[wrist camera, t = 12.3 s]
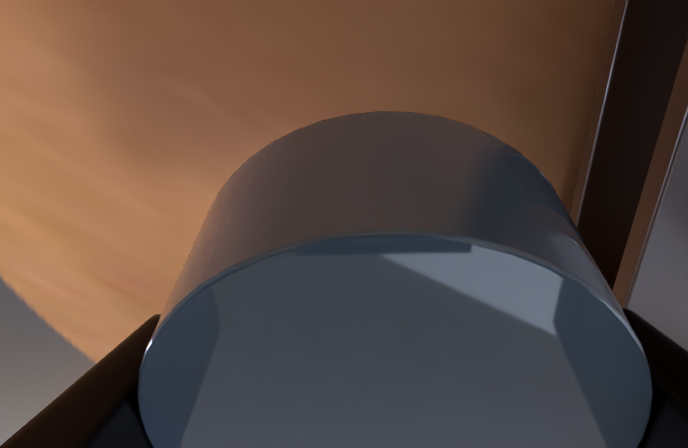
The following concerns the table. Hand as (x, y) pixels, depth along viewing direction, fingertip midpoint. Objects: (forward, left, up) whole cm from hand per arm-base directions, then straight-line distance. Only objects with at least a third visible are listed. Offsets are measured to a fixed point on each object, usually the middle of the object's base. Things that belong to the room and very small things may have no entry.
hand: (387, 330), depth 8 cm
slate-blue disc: (0, 0, -1) cm, 1 cm away
